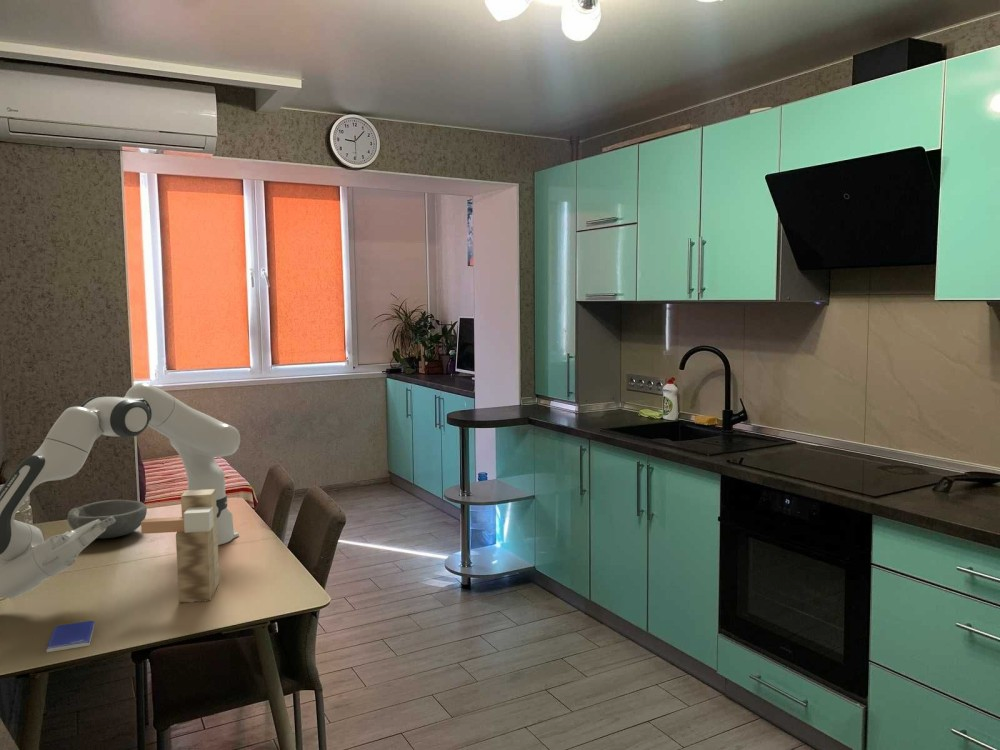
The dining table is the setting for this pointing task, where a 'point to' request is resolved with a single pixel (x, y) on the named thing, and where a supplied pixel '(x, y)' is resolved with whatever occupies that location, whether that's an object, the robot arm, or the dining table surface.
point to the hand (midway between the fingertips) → (107, 524)
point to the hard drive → (71, 636)
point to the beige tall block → (198, 552)
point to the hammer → (181, 522)
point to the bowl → (121, 510)
